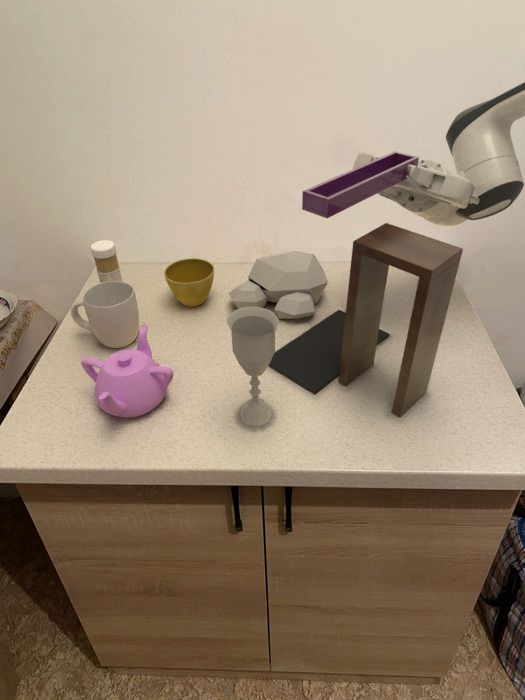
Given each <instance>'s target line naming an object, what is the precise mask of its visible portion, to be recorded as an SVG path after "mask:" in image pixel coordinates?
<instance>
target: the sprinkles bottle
mask: <svg viewBox="0 0 525 700" xmlns="http://www.w3.org/2000/svg"><path fill="white" fill-rule="evenodd" d="M90 251H91V256H92V257H93V260H94V263H95V267H96V272H97V276H98V280H99V283H102V282H107V281H121V282H124V281H123V277H122V271H121V267H120V265H119V261H118V256H117V248H116V244H115V242H114V241H112V240H108V239H102V240H98V241H96V242H94V243H92V244H91V246H90Z"/></svg>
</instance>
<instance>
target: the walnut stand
mask: <svg viewBox="0 0 525 700" xmlns="http://www.w3.org/2000/svg"><path fill="white" fill-rule="evenodd" d="M463 251H464V248H463V247H459V246H457V245H453V244H451V243H447V242H445V241H441V240H438V239H436V238H432V237H430V236H426V235H424V234H421V233H417V232H414V231H412V230H409V229H405V228H403V227H400V226H397V225H395V224H392V223H389V222H384V223H383V224H381V225H379V226H377V227H376V228H374V229H372V230H370V231H369V232H367V233H365V234H363V235H361V236H360V237H358V238H357V239H354V240H353V241H352V250H351V260H350V268H349V278H348V288H347V297H346V307H345V313H346V315H345V325H344V335H343V344H342V354H341V363H340V373H339V376H338V383H339V384H341V385H342V386H344V387H348V386H349V385H351V384H352V383H353V381H355V380H356V379H357V378H359V377H360V376H361V375H363V374H364V373H365V372H366V371H367V370H369V368H371V367H372V366H373V365H375V358H376V353H377V352H376V351H377V346H378V345H377V339H378V333H379V329H380V326H381V320H382V313H383V308H384V307H383V306H384V301H385V296H386V295H385V294H386V288H387V281H388V276H389V269H390V267H392V268H395V269H398V270H400V271H403V272H405V273H408V274H411V275H413V276H416V277H418V281H417V284H416V285H417V286H416V290H415V296H414V300H413V305H412V311H411V315H410V320H409V325H408V330H407V335H406V340H405V344H404V349H403V355H402V359H401V365H400V369H399V374H398V378H397V383H396V389H395V394H394V397H393V398H394V399H393V404H392V409H391V414H392V415H394V416H396V417H398V418H402V417H403V416H404V415H405V414H406V413H407V412H408V411H409V410H410V409H411V408H412V407H413V406H414V405H415V404H416V403H417V402H418V401H419V400H420V399H421V398H422V397H423V396H424V395H425V394H426V393H428V388H429V384H430V381H431V376H432V373H433V368H434V366H435V360H436V357H437V353H438V348H439V345H440V341H441V336H442V333H443V330H444V326H445V321H446V317H447V314H448V309H449V306H450V301H451V299H452V294H453V290H454V287H455V282H456V278H457V274H458V271H459V266H460V263H461V258H462V255H463ZM376 345H377V346H376Z"/></svg>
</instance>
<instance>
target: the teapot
mask: <svg viewBox="0 0 525 700" xmlns="http://www.w3.org/2000/svg"><path fill="white" fill-rule="evenodd" d="M147 333H148V324H147V323H146V324H145V323H144V324H143V325H142V326H141V327H140V330H139V331H138V337H137V338H138V339H137V347H136V349H124V350H119V351H117V352H114V353H112V354H111V355H109V356H108V357H107V358H106V359H105V360H104V361H103V360H100V359H98V358H95V357H91V356H86V357H83V358H82V359H81V361H80V364H81V367H82V368H83V370H84V371H85V373H86V374H87V375H88V376H89V377H90V379H91V380H92V381H93V382H94V384H95V385H94V397H95V401H96V404H97V406H99V408H100V409H102V411H104V412H105V413H106V414H109V415H112V416H114V417H118V418H127V419H128V418H136V417H141V416H144V415H146V414H148V413H150V412H151V411H153V410H154V409H156V408H157V406H159V405H160V404H161V403H162V401H163V400H164V398H165V397H166V394H167V391H168V387H169V385H170V384H171V382H172V381H173V378H174V371H173V369H172V368H171V367H169V366H162V365H161V366H160V365H159V364H158V363H157V362H156V361H155V360H154V359H153V353H152V350H151V347H150V344H149V341H148V337H147V335H148V334H147ZM94 367H95V368H97V369H99V371H98V372H97V371H96V369H95V368H94Z"/></svg>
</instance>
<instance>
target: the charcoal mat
mask: <svg viewBox="0 0 525 700" xmlns="http://www.w3.org/2000/svg"><path fill="white" fill-rule="evenodd" d="M345 315H346V311H343V310H341V309H337V310H336V311H335V312H333V313H331V314H329V316H327V317H326V318H324V319H322V320H321V321H320V322H318V323H316V324H315V325H313V326H312V327H310V328H309V329H307V330H306V331H304V332H302V333H301V334H300V335H299V336H297V337H295V338H294V339H293V340H291V341H290V342H288V343H287V344H284V345H283V346H281V347H280V348H279V349H277V350H275V352H274V355H273V357H272V359H271V362H270V364H269V365H268V367H269V368H271V369H273V370H274V371H276V372H277V373H279V374H281V375H282V376H283V377H286V378H287V379H288V380H290V381H292V382H293V383H295V384H297V385H298V386H300V387H302V388H303V389H305V390H306V391H308V392H310V393H312V394H313V395H317V394H318V393H319V392H320V391H321V390H323V389H324V388H325V387H327V385H329V384H330V383H331V382H333V381H334V380H335V379H336V378H339V373H340V363H341V354H342V344H343V335H344V325H345ZM390 335H391V334H390V333H389V332H388V331H385V330H382V329H381V328H379V333H378V339H377V345H376V347H377V346H379V345H380V344H381V343H382V342H383V341H385V340H386V339H388V337H390Z"/></svg>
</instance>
